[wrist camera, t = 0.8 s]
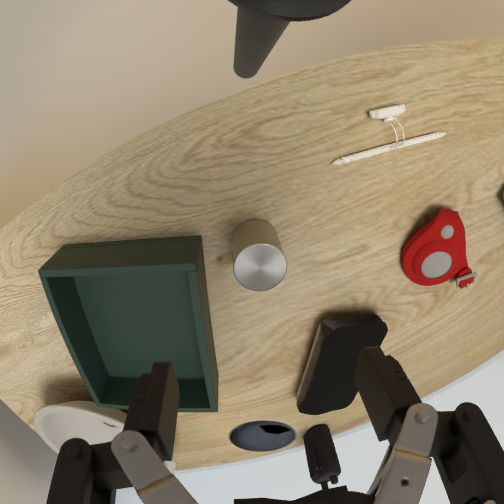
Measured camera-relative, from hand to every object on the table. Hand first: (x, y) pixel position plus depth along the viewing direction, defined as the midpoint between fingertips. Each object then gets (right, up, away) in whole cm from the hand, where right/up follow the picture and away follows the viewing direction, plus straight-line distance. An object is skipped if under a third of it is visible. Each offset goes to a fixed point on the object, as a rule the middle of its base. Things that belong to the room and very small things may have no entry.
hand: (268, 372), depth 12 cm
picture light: (+13, +17, +15) cm, 26 cm away
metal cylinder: (0, +6, +19) cm, 20 cm away
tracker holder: (+22, +5, +21) cm, 31 cm away
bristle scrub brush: (+10, -9, +26) cm, 30 cm away
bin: (-13, -3, +22) cm, 26 cm away
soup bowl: (-24, -23, +30) cm, 45 cm away
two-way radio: (+10, -25, +34) cm, 43 cm away
